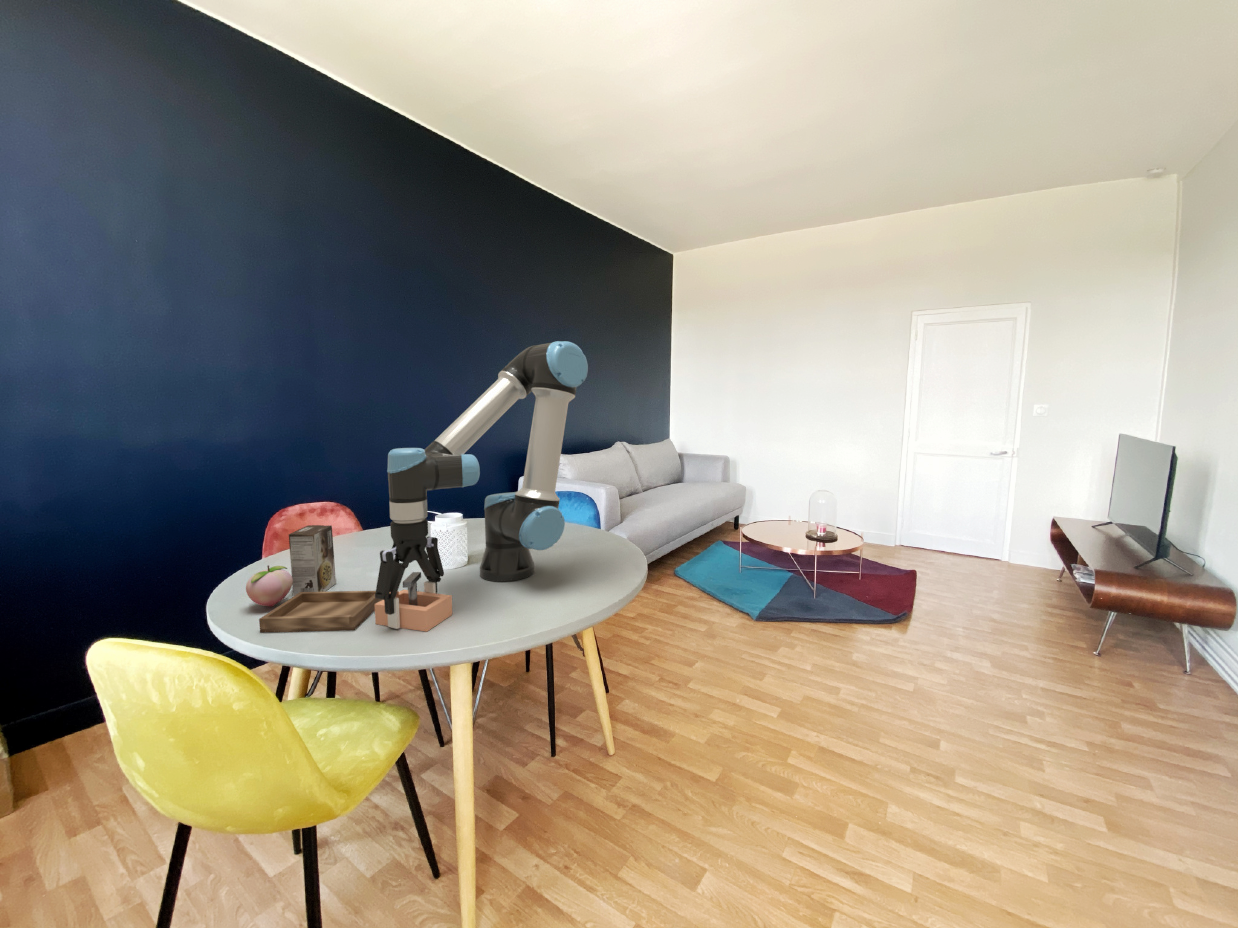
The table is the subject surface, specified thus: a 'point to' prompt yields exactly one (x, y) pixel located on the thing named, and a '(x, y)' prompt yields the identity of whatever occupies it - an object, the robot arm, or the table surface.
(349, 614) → the tray
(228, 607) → the table surface
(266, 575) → the decorative fruit
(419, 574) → the grey t-shaped block
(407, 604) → the terracotta rectangular box
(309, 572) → the coffee box
